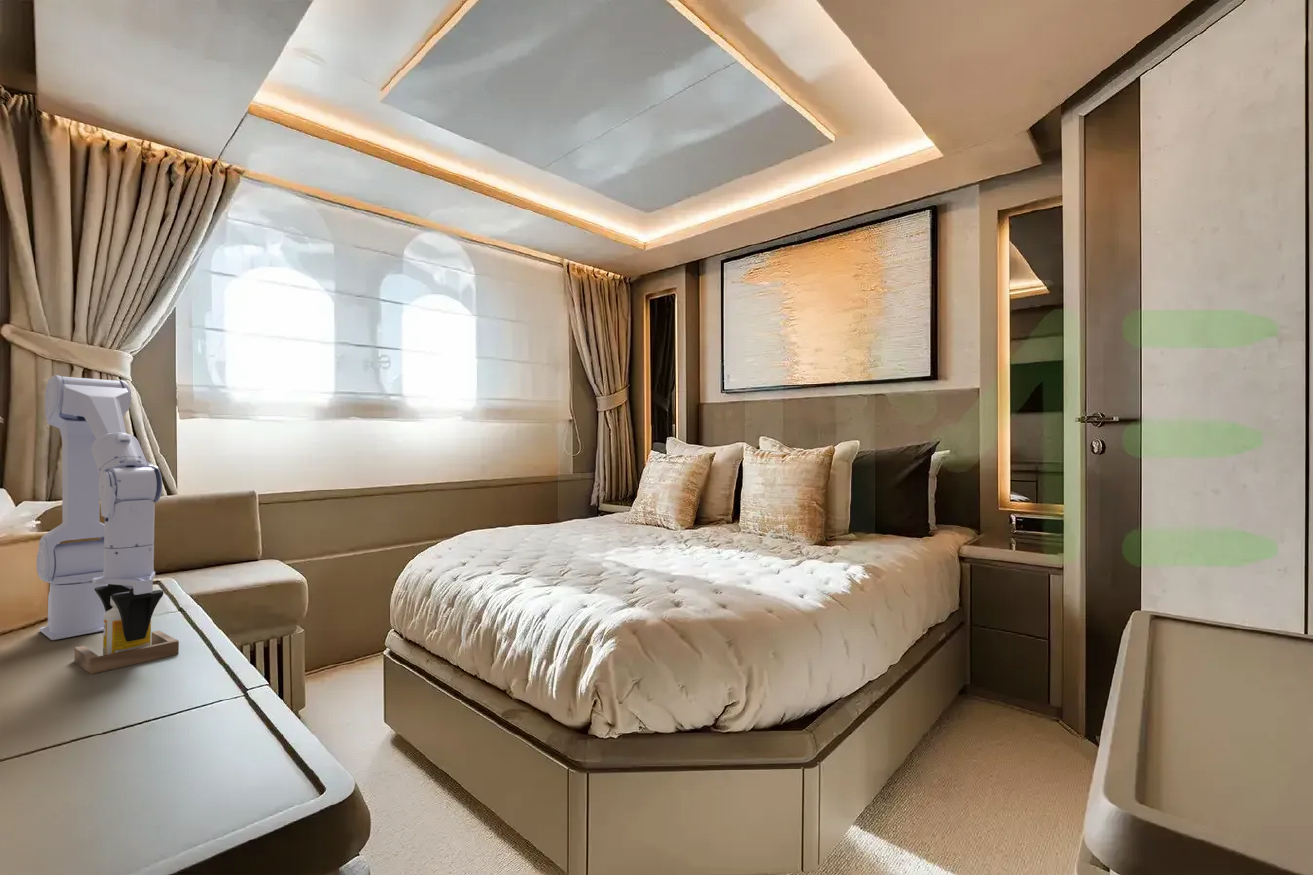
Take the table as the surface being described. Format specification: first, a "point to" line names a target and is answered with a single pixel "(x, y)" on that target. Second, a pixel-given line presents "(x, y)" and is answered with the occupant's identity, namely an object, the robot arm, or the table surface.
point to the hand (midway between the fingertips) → (127, 634)
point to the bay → (127, 654)
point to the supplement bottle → (119, 633)
